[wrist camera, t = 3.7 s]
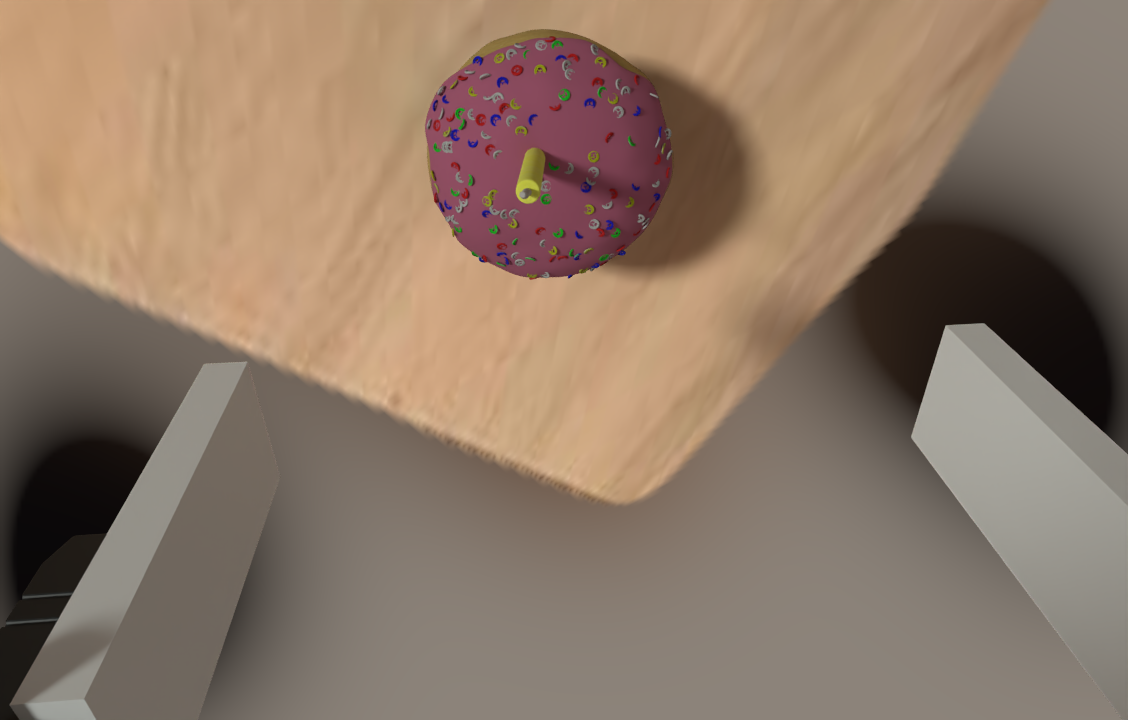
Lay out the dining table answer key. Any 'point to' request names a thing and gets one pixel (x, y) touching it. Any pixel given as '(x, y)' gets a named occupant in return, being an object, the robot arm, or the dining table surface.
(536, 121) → the cupcake
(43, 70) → the dining table surface
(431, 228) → the dining table surface
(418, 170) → the dining table surface
